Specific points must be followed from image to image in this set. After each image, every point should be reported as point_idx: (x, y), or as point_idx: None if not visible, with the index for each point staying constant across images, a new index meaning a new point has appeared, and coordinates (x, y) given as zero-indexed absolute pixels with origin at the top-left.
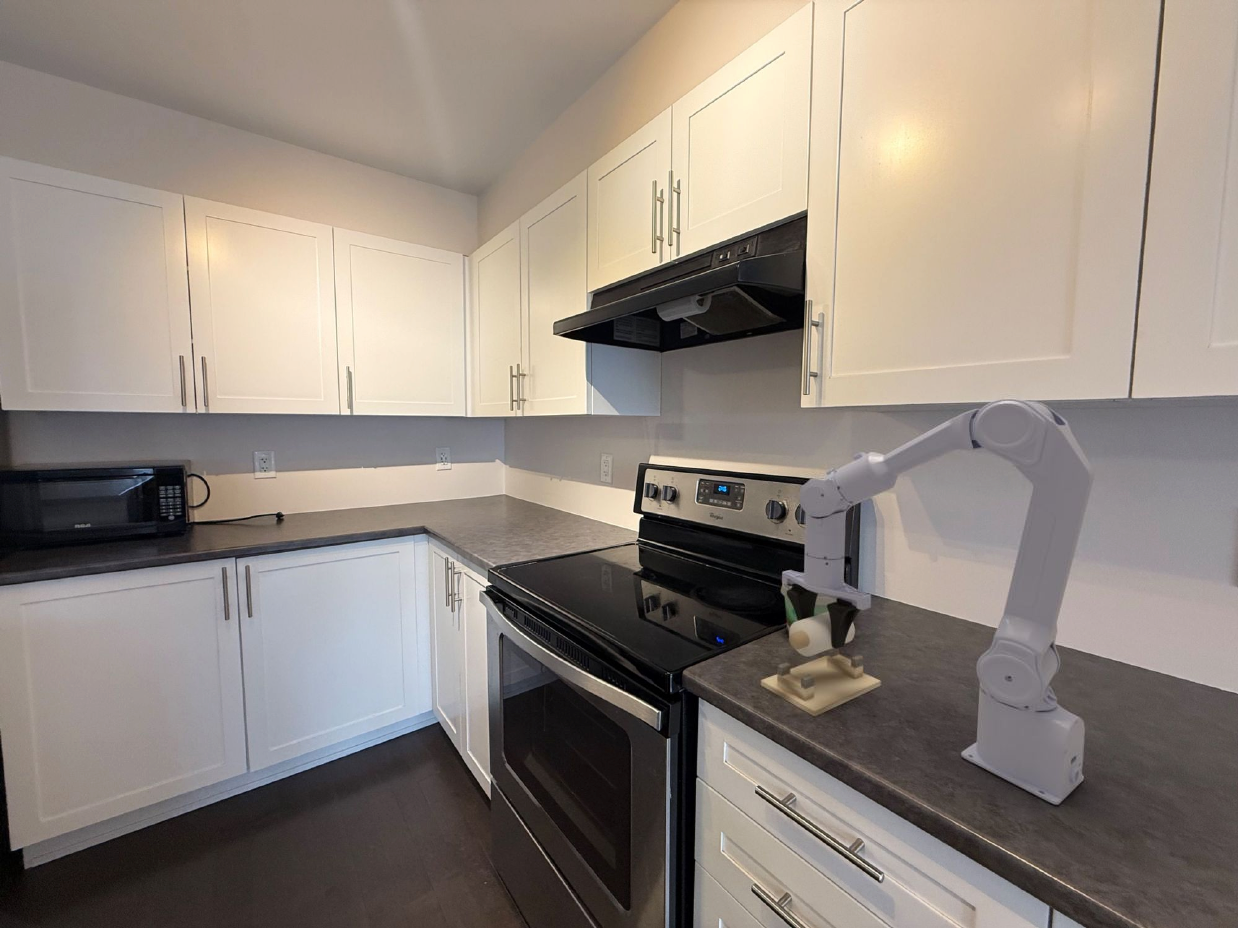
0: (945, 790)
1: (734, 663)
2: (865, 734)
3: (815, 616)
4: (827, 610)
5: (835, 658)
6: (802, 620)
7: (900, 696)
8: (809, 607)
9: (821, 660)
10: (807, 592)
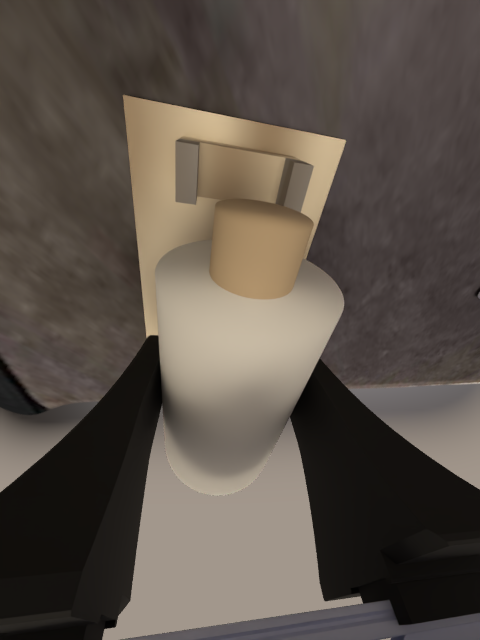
0: (434, 360)
1: (42, 334)
2: (342, 341)
3: (213, 453)
4: None
5: (211, 192)
6: (206, 488)
7: (393, 159)
8: (139, 455)
9: (146, 159)
10: (114, 601)
